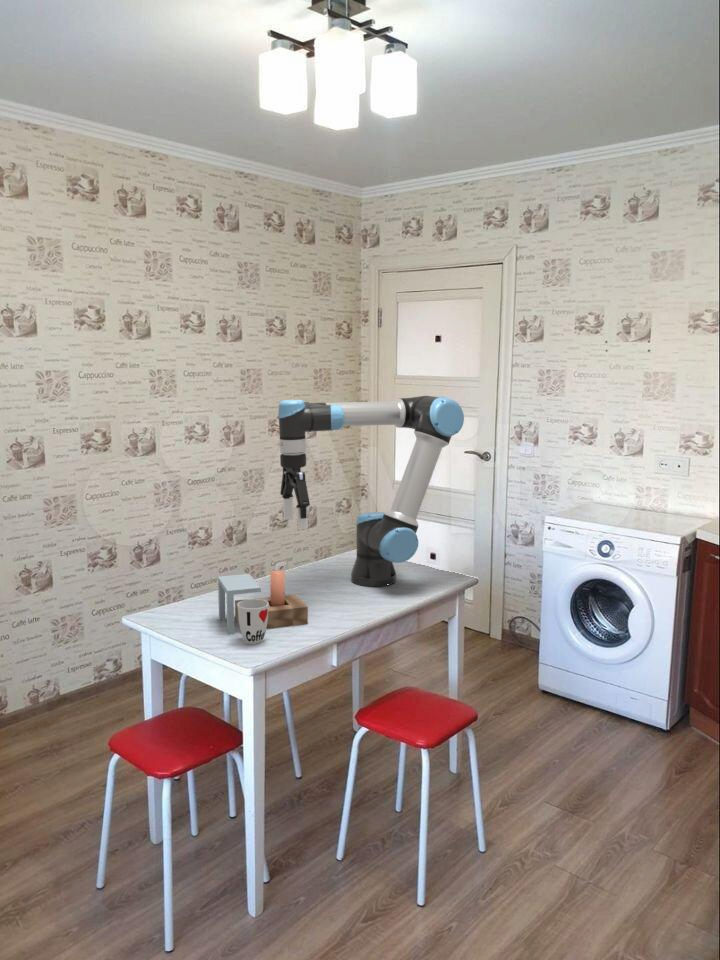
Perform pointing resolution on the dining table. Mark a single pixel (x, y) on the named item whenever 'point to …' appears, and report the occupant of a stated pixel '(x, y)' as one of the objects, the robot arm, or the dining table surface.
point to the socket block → (284, 612)
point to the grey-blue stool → (233, 587)
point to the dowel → (277, 588)
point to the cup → (253, 619)
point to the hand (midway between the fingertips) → (295, 524)
